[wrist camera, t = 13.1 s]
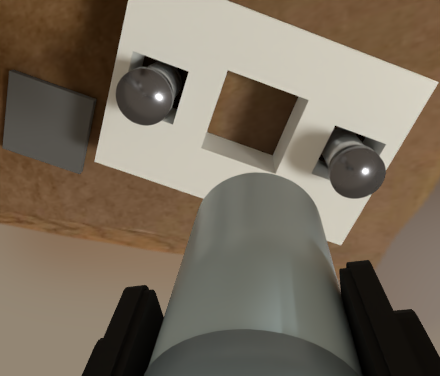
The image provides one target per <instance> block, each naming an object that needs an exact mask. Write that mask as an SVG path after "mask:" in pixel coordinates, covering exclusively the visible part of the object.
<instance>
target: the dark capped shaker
mask: <svg viewBox="0 0 440 376" xmlns="http://www.w3.org/2000/svg"><path fill="white" fill-rule="evenodd" d="M322 155H323V157H324V159H325V161H326V163H327V166H328V177H329V180H330V182H331V184H332V186H333V188H334V190H335V191H336V192H337V193H338V194H340V195H341V196H343V197H346V198H351V199H359V198H363V197H366V196H369V195H371V194H372V193H374V192H375V191H376V190H377V189H378V188H379V187H380V186H381V184H382V183H383V181H384V178H385V174H386V169H385V164H384V162H383V160H382V159H381V158H380V156H379V155H378V154H377V153H376V152H375V151H374V150H373V149H372V148H370V147H368V146H365V145H364V144H363V143H362V142H361V141H360V139H359V138H358V137H357V136H356V134H355V133H354V132H352V131H349V130H346V129H344V128H341V127H339V128H334V129H333V131H332V133H331V135H330V137H329V139H328V141H327V143H326V145H325V147H324V149H323V151H322Z"/></svg>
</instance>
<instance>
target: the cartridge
mask: <svg viewBox="0 0 440 376" xmlns="http://www.w3.org/2000/svg"><path fill="white" fill-rule="evenodd" d="M144 376H363V373H362V369H361V366H360V362H359V358H358V355H357V351H356V347H355V344H354V340H353V336H352V332H351V329H350V325H349V322H348V318H347V315H346V311H345V308H344V304H343V301H342V297H341V292H340V288H339V284H338V281H337V277H336V273H335V270H334V266H333V262H332V259H331V255H330V251H329V247H328V244H327V240H326V236H325V233H324V229H323V225H322V222H321V218H320V214H319V212H318V209H317V207H316V205H315V203H314V201H313V200H312V198H311V197H310V196H309V194H308V193H307V192H306V191H305V190H304V189H302V188H301V187H300V186H299V185H297V184H296V183H294V182H292V181H291V180H289V179H286V178H284V177H282V176H278V175H275V174H269V173H258V172H254V173H245V174H240V175H237V176H234V177H231V178H229V179H227V180H224V181H223V182H221V183H220V184H218V185H217V186H215V187H214V188H213V189H212V190H211V191H210V192H209V193H208V194H207V195H206V196H205V198H204V200H203V201H202V203H201V205H200V207H199V209H198V212H197V216H196V219H195V222H194V225H193V228H192V231H191V234H190V238H189V241H188V244H187V247H186V250H185V253H184V256H183V260H182V263H181V266H180V269H179V272H178V275H177V278H176V281H175V285H174V288H173V291H172V294H171V297H170V300H169V303H168V307H167V310H166V313H165V316H164V319H163V322H162V325H161V329H160V332H159V335H158V338H157V341H156V344H155V347H154V350H153V354H152V357H151V360H150V363H149V366H148V369H147V370H146V372H145V374H144Z"/></svg>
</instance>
